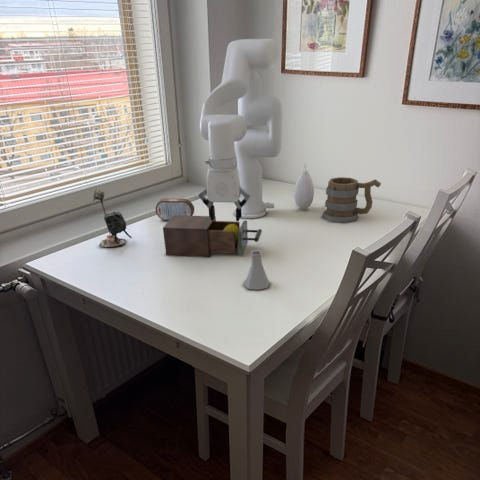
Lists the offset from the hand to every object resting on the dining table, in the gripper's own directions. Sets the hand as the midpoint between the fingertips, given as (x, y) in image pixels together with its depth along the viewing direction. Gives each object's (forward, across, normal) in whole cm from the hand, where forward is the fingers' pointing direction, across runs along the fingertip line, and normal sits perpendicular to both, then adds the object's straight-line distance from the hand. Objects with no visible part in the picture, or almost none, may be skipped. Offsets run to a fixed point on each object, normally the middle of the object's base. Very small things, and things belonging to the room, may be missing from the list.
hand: (225, 219), depth 149 cm
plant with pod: (+11, -40, +1) cm, 42 cm away
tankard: (+11, +41, +36) cm, 56 cm away
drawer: (+10, +2, 0) cm, 10 cm away
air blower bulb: (+11, +22, +46) cm, 52 cm away
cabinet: (+11, -12, 0) cm, 16 cm away
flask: (+11, +14, -24) cm, 29 cm away
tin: (+11, -26, +28) cm, 40 cm away
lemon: (+8, 0, 0) cm, 8 cm away
